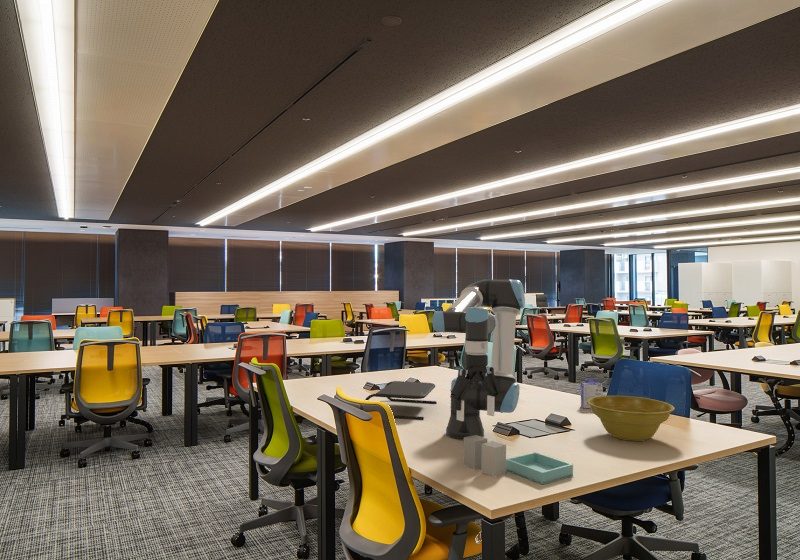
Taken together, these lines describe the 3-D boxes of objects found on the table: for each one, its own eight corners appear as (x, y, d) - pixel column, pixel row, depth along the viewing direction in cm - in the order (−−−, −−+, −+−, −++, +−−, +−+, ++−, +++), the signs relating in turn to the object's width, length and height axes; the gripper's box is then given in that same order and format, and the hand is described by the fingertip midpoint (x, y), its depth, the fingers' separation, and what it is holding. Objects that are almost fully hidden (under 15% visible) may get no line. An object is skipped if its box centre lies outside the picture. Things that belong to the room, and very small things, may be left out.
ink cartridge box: (599, 406, 271) (599, 377, 272) (603, 408, 266) (603, 379, 266) (580, 406, 271) (580, 377, 272) (583, 408, 266) (583, 379, 266)
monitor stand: (423, 420, 238) (423, 396, 238) (363, 416, 244) (363, 393, 244) (436, 404, 274) (437, 382, 274) (384, 400, 280) (384, 380, 280)
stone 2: (481, 472, 170) (481, 443, 170) (492, 468, 174) (492, 440, 174) (495, 476, 166) (495, 447, 166) (505, 473, 170) (506, 444, 170)
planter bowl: (621, 451, 195) (622, 414, 195) (571, 428, 226) (571, 396, 226) (693, 445, 203) (694, 409, 204) (635, 424, 235) (635, 394, 235)
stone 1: (463, 464, 177) (463, 437, 178) (475, 461, 181) (476, 434, 181) (474, 469, 173) (475, 441, 173) (487, 466, 176) (487, 438, 176)
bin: (505, 470, 172) (505, 459, 172) (535, 462, 180) (535, 452, 180) (542, 484, 160) (542, 472, 160) (572, 475, 168) (572, 464, 168)
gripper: (455, 356, 167) (454, 424, 167) (511, 352, 182) (510, 415, 181) (440, 354, 174) (439, 420, 173) (495, 350, 188) (494, 411, 187)
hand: (475, 417), depth 177 cm, fingers open, 13 cm apart
